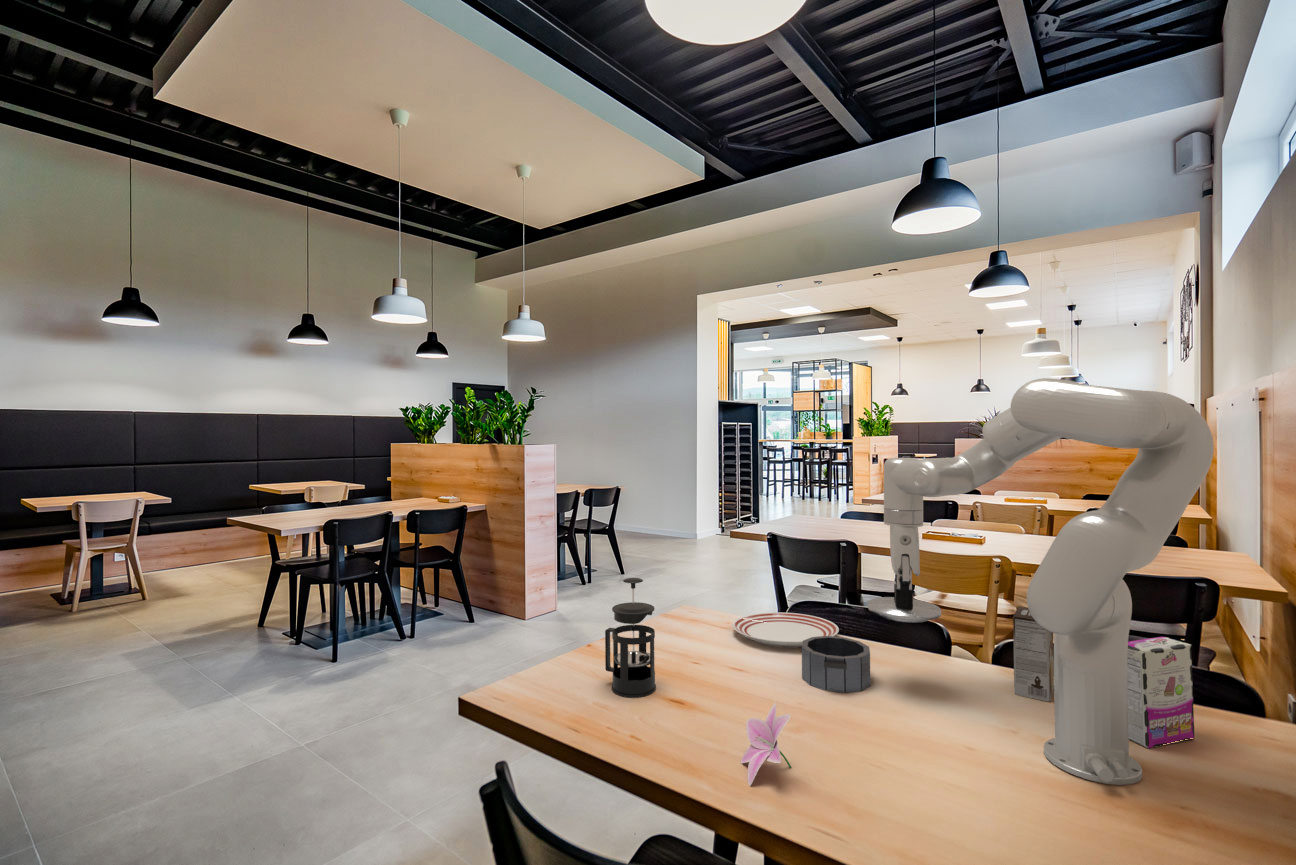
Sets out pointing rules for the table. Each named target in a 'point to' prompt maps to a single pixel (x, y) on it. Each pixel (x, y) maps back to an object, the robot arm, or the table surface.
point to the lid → (904, 610)
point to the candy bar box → (1159, 691)
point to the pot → (836, 664)
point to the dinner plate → (783, 628)
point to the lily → (764, 741)
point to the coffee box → (1032, 657)
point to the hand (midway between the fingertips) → (903, 605)
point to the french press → (631, 661)
